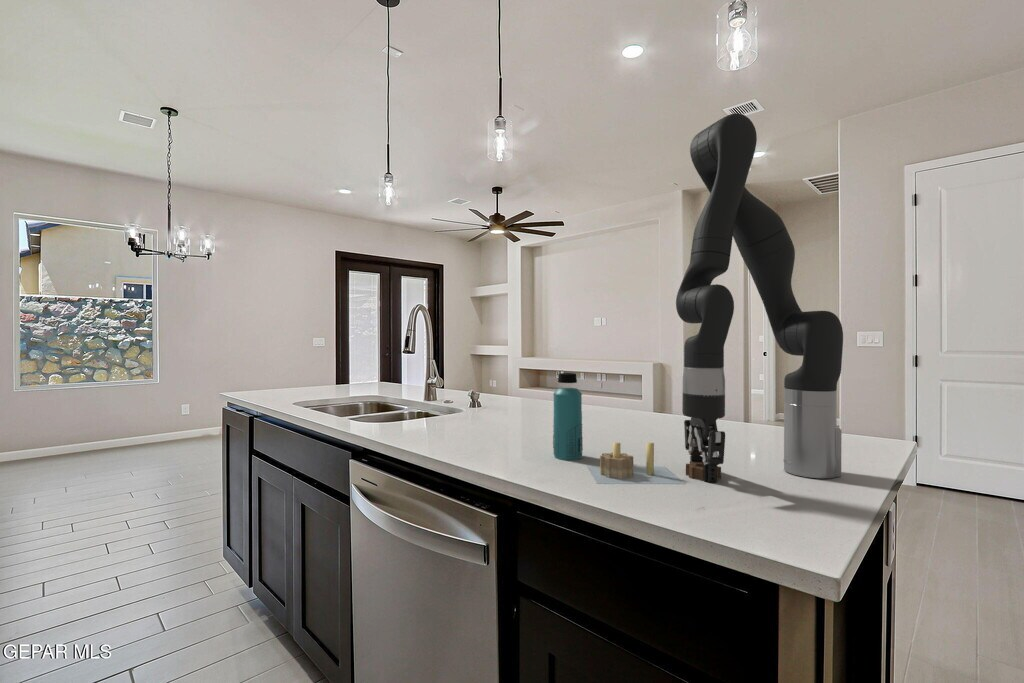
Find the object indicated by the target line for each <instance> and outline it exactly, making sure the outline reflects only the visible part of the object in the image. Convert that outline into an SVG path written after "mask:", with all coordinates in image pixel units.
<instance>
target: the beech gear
mask: <svg viewBox="0 0 1024 683" xmlns="http://www.w3.org/2000/svg"><path fill="white" fill-rule="evenodd" d="M599 466H600V474H601V475H605V476H606V477H607V478H611V477H612V478H618V479H622V478H631V477H632V475H633V466H634V456H633V455H629V454H628V453H626V452H625V453H624V452H623V453H621V452H620V458H613V451H611V452H609V453H606V452H603V453H601V455H599Z"/></svg>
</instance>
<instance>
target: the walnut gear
mask: <svg viewBox="0 0 1024 683" xmlns="http://www.w3.org/2000/svg"><path fill="white" fill-rule="evenodd" d="M703 464H704V463H703V462H689V463H685V476H688V479H689V478H690V479H692V480H693V479H695V480H700V481H703ZM718 479H719V480H721V479H722V466H719V465H717V482H718ZM703 482H704V481H703Z"/></svg>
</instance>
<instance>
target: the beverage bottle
mask: <svg viewBox="0 0 1024 683" xmlns="http://www.w3.org/2000/svg"><path fill="white" fill-rule="evenodd" d="M557 378H558V379H557V382H558V383H559V384H577V382H578V379H577V374H576V373H573V372H561V373H558V377H557ZM552 396H553V434H552V445H553V446H552V448H553V456H554V458H555V459H557V460H563V461H575V460H581V459H582V457H583V449H584V448H583V447H584V446H583V438H584V437H583V433H584V432H583V430H584V428H583V411H582V409H583V408H582V407H583V405H582V401H583V400H582V399H583V398H582V396H583V393H582V392H581V391H580V390H579V389H578V388H577V387H576V388H574V387H558V388H557V389H556V390H555V391H554V392H553V395H552Z"/></svg>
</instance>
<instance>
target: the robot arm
mask: <svg viewBox="0 0 1024 683" xmlns="http://www.w3.org/2000/svg"><path fill="white" fill-rule="evenodd" d="M757 137H758V136H757V129H756V127H755V124H754V123H753V121H752V120H751V119H750V118H749V117H748V116H746V115H745V114H742V113H739V112H738V113H735V112H734V113H730V114H728V115H725V116H723V117H722V118H720V119H719V120H717V121H715V122H713V123H712V124H710V125H709V126H708V127H706V128H704V129H703V130H701V131H699V132H698V133H697V134H696V135H694V137H693V138H692V140H691V143H690V146H689V153H690V158H691V162H692V164H693V166H694V168H695V170H696V173H697V174H698V175H699V177H700V179H701V181H702V182H703V184H704V185H705V186H706V189H707V190H708V192H709V196H708V199H707V200H706V203H705V205H704V206H703V208H702V210H701V212H700V215H699V217H698V219H697V222H696V224H695V228H694V231H693V236H692V242H691V243H692V244H691V250H690V259H689V264H688V266H687V269H686V271H685V273H684V274H683V279H682V281H681V283H680V285H679V288H678V291H677V294H676V300H675V307H676V312H677V315H678V317H679V318H680V319H681V321H682V322H684V323H688V324H700V327H699V330H698V333H697V334H696V335H693V336H690V337H687V339H686V340H685V342H684V348H683V356H684V357H683V374H682V395H681V397H682V406H681V407H682V411H681V412H682V415H684V417H688V418H690V419H685V420H684V422H683V424H684V448H685V450H686V451H688V452H687V453H688V455H689V460H690V462H703V463H704V464H703V482H705V483H707V484H717V482H718V481H717V466H720V465H723V464H724V461H725V448H726V447H725V446H726V445H725V444H726V432H725V431H720V430H718V426H717V420H718V419H722V418H725V416H726V378H725V377H726V376H725V368H724V366H725V348H724V347H725V343H726V341H727V337H728V334H729V330H730V326H731V323H732V320H733V317H734V312H735V302H734V301H735V300H734V297H733V294H732V293H731V291H730V290H729V288H728V287H726V286H725V285H722V284H718V283H717V284H712V283H713V281H714V280H715V279H716V278H717V277H720V276H721V275H724V274H725V273H727V271H728V269H729V266H730V260H731V254H732V245H733V240H734V242H735V245H736V247H737V249H738V252H739V253H740V256H741V257H742V260H743V261H744V262H743V263H744V264H745V266H746V268H747V269H748V272H749V273H750V275H751V278H752V280H753V282H754V285H755V287H756V290H757V292H758V295H759V296H760V299H761V301H762V304H763V306H764V309H765V312H766V315H767V319H768V322H769V325H770V328H771V330H772V333H773V336H774V339H775V341H776V343H777V345H778V346H779V348H780V349H781V350H782V351H783V352H784V353H785V354H789V355H791V356H798V357H799V356H800V357H801V356H802V363H801V365H800V366H799V368H797V369H796V370H794V371H792V372H789V373H786V375H785V376H784V379H783V380H784V381H783V382H784V383H783V384H784V385H783V387H784V388H783V392H784V393H783V400H784V401H783V402H784V403H783V411H784V412H783V418H784V419H783V422H784V423H783V470H784V471H785V472H787V473H789V474H791V475H795V476H800V477H804V478H811V479H812V478H813V479H833V478H836V477H842V439H843V438H842V434H843V433H842V429H841V428H840V427H837V423H838V422H837V417H838V416H837V410H838V409H837V408H838V406H837V405H838V404H837V402H838V397H837V396H838V395H837V394H838V392H837V390H838V389H837V388H838V383H839V379H840V377H841V373H842V363H843V362H842V361H843V347H844V331H843V330H844V329H843V326H842V323H841V320H840V318H839V317H838V316H837V314H835V313H833V311H830V310H812V311H811V310H810V311H802V309H801V308H800V306H799V304H798V301H797V300H796V298H795V295H794V291H793V288H792V277H793V272H794V267H795V266H794V265H795V258H796V250H795V245H794V243H793V240H792V238H791V235H790V233H789V231H788V229H787V227H786V224H785V223H784V221H783V219H782V218H781V217H780V215H779V213H777V212H775V210H774V209H773V208H771V207H770V206H768V205H767V204H766V203H764V202H763V201H762V200H760V199H759V198H757V197H756V196H755V195H753V194H752V193H751V192H750V191H749V190H748V188H746V187H745V186H746V183H747V178H748V175H749V173H750V169H751V165H752V163H753V159H754V156H755V152H756V148H757V140H758V139H757ZM690 462H689V463H690Z"/></svg>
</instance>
